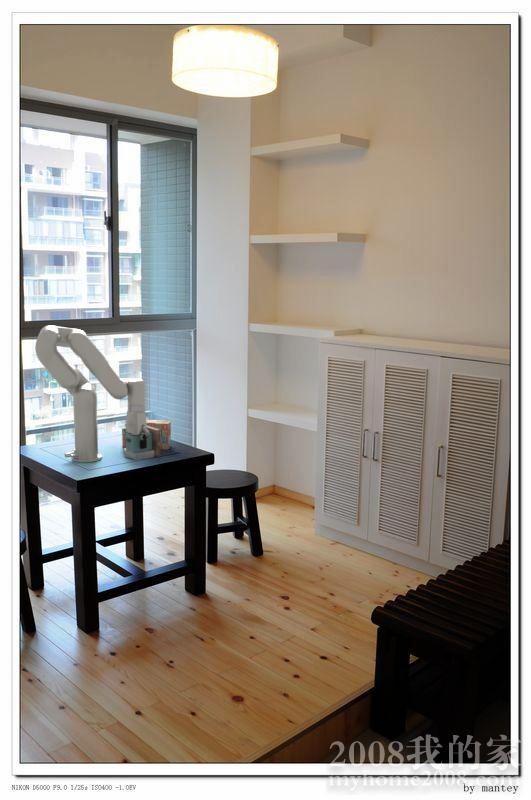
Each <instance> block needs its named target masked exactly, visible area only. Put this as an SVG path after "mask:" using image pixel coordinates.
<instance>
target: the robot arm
mask: <svg viewBox="0 0 531 800" xmlns="http://www.w3.org/2000/svg"><path fill="white" fill-rule="evenodd" d="M58 347H61V348H69V349H70V350H71V351H72V352H73V353H74V354H75V356H76V357H77V358H78V359H79V360H80V361H81V362H82V364H83V365H84V366H85V367H86V368H87V370H89V373H91V374H92V375H93V377H94V378H95V379H97V381H98V383H100V385H101V386H102V388H104V389H105V391H106V392H107V393H108V394H109V395H110V396H111V398H113V399H115V400H123V399H125V398H126V397H127V411H126V417H125V425H124V426H125V427H126V431H127V434H134V435H139V437H140V439H141V440H140V449H145V448H147V438H148V434H149V430H148V429H147V423H146V420H147V416H146V382H145V380H143V379H141V378H133V379H128V378H127V379H126V378H121V377H119V376H118V374H117V373H116V372H115V371H114V369H113V368H112V366H111V365H110V364H109V361H108V359H107V358H106V357H105V356H104V354H103V353H102V352H101V350H99V348H97V346H96V345H95V344H94V342H93V341H91V339H90V338H89V337H88V335H87V333H86V332H85V331H84V330H81V329H78V328H72V327H71V328H70V327H64V326H57V325H45V326H44V327H42V328H41V329H40V332H39V333H38V336H37V339H36V341H35V346H34V349H35V355H36V357H37V359H38V361H39V362H40V363H41V365H42V366H43V367H44V368H45V370H46V371H47V372H48V373H49V375H50V376H51V377H52V378H53V380H54V381H56V382H57V384H58V386H59V387H61V388H63V389H65V390H66V391H67V393H69V394H70V395H71V397H72V400H73V425H74V426H73V427H74V448H72V451H70V452H65V453H64V457H65V458H66V459H67V458H71V460H72V461H73V462H76V463H83V464H84V463H93V462H99V461H100V460H102V458H103V456H102V454H101V453H99V445H98V443H99V441H98V440H99V439H98V437H99V436H98V396H97V393H96V388H95V387H94V386H93V385H92V383H90V381H89V380H88V379H87V378H86V377H85V375H84V374H83V373H82V372H81V370H79V368H78V367H76V366H75V365H74V364H71V363H69V362H68V361H67V360H66V359H65V357H64V356H63V355H62V354H61V353H60V352H59V350H58ZM142 435H143V437H142Z"/></svg>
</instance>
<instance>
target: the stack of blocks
mask: <svg viewBox="0 0 531 800" xmlns="http://www.w3.org/2000/svg"><path fill="white" fill-rule="evenodd" d="M171 421H172V420H163V419H146V423H147V425H148V426H151V427H154V428H157V429H160V450H169V449H170V448H171V447H172V446H171V445H172V442H171V441H172V440H171V438H172V437H171V435H172V431H171V430H172V429H171V428H172V426H171V425H172V424H171V423H172V422H171ZM126 434H127V431H126V427H125V425H124V426H123V427H122V428H121V441H122V446H121V447H122V449H126ZM169 447H170V448H169Z"/></svg>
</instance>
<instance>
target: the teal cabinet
mask: <svg viewBox="0 0 531 800" xmlns="http://www.w3.org/2000/svg"><path fill="white" fill-rule="evenodd" d="M142 437H143V435H142ZM140 440H141V439H140V437H139V435H134V434H126V448H125V449H126V450H127V451H130V452H132V453H133V452H138V451H143V450H148V449H152V433H149V434H148V438H147V448H145V449H140Z"/></svg>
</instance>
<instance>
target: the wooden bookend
mask: <svg viewBox="0 0 531 800" xmlns="http://www.w3.org/2000/svg"><path fill="white" fill-rule="evenodd" d="M147 429H148V430H149V433H152V449H148V450H143V451H138V452H133V453H132V452H130V451H127V450H126V448H122V450H123V451H122V452H123V453H122V455H123V457H126V458H128V459H131V460H133V459H134V461H140V460H139V459H141V460H145V459H144V458H146V459H150V457H151V458H155V457H154V456H156V458H158V456H159V457H161V449H160V429H157V428H154V427H151V426H148V425H147Z"/></svg>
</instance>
